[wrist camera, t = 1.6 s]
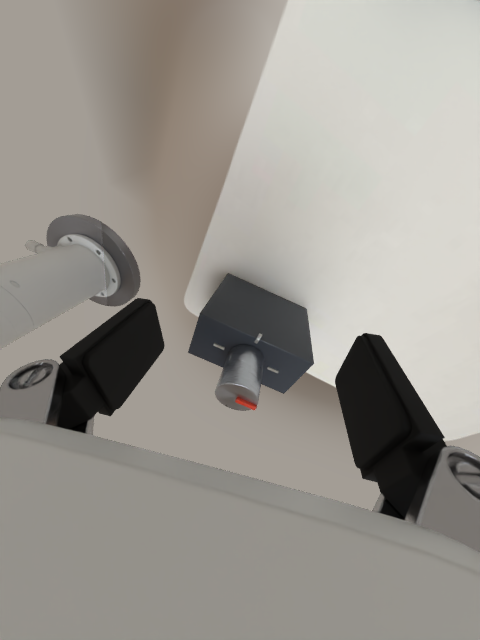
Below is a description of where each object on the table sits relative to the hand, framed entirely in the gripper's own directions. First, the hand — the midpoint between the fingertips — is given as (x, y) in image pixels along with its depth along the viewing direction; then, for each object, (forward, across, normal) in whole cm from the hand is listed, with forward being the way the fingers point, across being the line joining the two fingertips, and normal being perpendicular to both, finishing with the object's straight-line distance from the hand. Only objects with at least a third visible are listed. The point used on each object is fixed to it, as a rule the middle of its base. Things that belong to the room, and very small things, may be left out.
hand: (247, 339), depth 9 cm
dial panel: (+22, +1, +11) cm, 24 cm away
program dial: (+10, +1, +11) cm, 15 cm away
